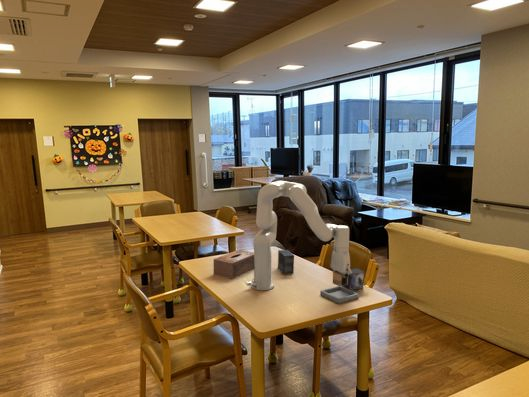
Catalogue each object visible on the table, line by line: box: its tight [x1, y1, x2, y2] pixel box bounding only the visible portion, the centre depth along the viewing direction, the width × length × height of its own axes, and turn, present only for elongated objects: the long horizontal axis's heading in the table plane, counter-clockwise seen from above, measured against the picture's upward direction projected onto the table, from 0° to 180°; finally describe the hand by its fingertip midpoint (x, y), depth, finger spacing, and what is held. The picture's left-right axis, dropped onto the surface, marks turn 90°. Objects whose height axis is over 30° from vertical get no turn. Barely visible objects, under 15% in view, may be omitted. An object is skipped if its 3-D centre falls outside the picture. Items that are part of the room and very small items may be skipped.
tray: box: [319, 285, 359, 305], centre depth 203 cm, size 14×14×2 cm
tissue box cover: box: [213, 249, 254, 280], centre depth 241 cm, size 26×14×10 cm, turn 147°
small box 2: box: [342, 268, 365, 292], centre depth 213 cm, size 11×6×10 cm, turn 117°
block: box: [332, 271, 348, 286], centre depth 201 cm, size 6×6×6 cm
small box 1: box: [277, 249, 295, 275], centre depth 242 cm, size 13×7×12 cm, turn 14°
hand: (340, 282), depth 202 cm, fingers closed on block, 5 cm apart
